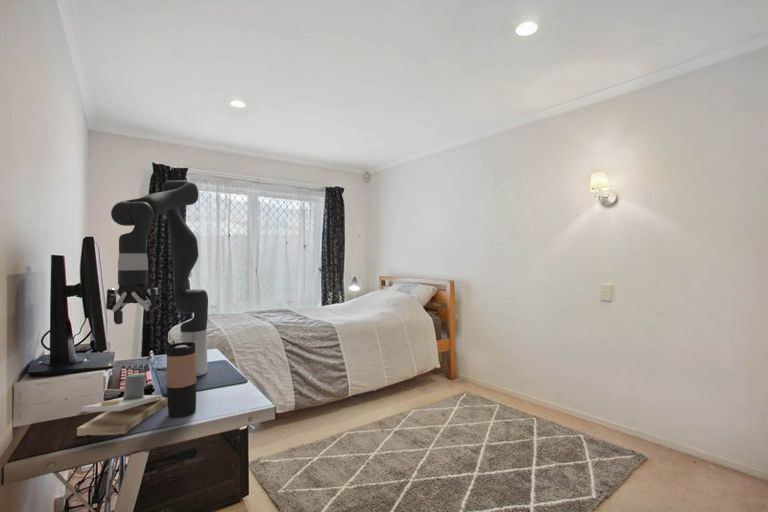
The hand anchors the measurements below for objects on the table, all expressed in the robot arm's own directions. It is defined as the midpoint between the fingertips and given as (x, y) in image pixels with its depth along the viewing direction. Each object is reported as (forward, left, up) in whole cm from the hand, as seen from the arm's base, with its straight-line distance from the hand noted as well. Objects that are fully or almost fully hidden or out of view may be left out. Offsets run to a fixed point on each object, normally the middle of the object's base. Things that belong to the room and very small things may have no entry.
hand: (133, 323), depth 112 cm
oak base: (+4, 0, -26) cm, 27 cm away
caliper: (-13, -12, -27) cm, 32 cm away
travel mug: (+1, +14, -27) cm, 30 cm away
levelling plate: (+4, 0, -22) cm, 23 cm away
